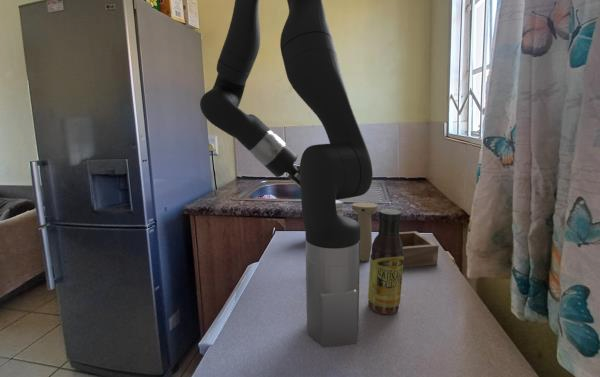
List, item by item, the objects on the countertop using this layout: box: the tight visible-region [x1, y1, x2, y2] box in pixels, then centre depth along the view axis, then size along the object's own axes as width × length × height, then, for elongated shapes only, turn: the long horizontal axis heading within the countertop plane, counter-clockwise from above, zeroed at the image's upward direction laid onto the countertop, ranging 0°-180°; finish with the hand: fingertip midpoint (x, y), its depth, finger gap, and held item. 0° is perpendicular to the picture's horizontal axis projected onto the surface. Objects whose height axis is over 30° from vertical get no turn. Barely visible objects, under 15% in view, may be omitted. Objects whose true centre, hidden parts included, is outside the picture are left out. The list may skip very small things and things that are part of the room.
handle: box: [351, 201, 379, 262], centre depth 90 cm, size 5×6×15 cm
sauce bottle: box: [367, 208, 404, 315], centre depth 67 cm, size 6×6×20 cm
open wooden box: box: [399, 230, 439, 268], centre depth 92 cm, size 11×11×5 cm
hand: (320, 197), depth 86 cm, fingers open, 8 cm apart
